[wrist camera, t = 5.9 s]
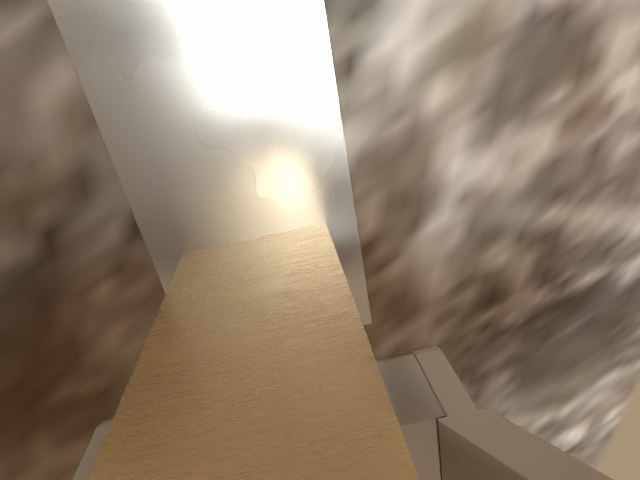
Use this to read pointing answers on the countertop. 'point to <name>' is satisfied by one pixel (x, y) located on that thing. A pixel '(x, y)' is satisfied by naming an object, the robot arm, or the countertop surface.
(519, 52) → the countertop surface
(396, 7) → the countertop surface
